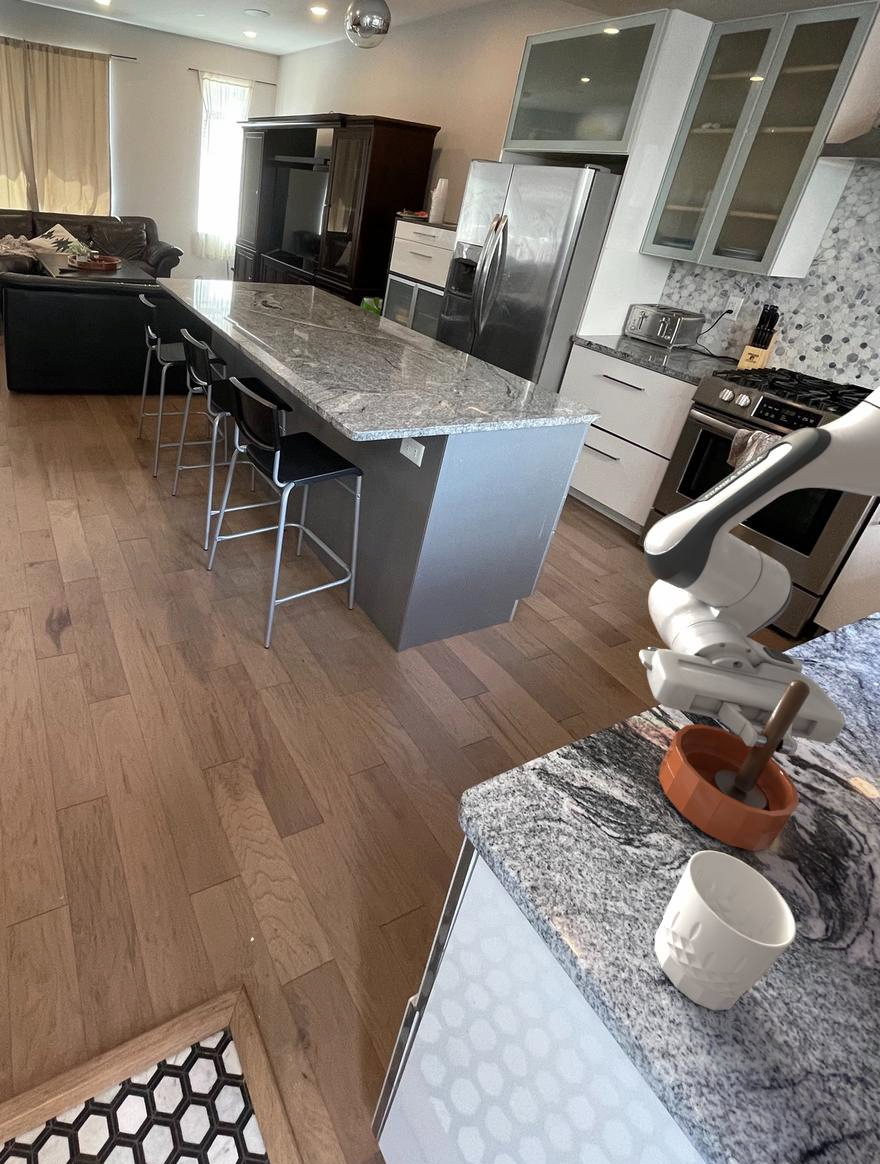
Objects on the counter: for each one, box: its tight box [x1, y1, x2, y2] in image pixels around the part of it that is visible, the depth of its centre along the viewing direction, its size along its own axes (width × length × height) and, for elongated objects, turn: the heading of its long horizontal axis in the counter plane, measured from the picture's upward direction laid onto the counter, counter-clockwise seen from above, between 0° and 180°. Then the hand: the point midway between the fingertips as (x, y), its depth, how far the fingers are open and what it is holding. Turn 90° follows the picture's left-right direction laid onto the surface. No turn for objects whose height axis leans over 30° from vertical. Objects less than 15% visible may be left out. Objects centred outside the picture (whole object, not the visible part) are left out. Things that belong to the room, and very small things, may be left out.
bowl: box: [658, 723, 800, 852], centre depth 72 cm, size 12×12×6 cm
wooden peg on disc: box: [710, 680, 810, 810], centre depth 69 cm, size 5×5×18 cm
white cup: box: [654, 850, 797, 1011], centre depth 54 cm, size 8×8×10 cm
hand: (773, 746), depth 68 cm, fingers closed on wooden peg on disc
